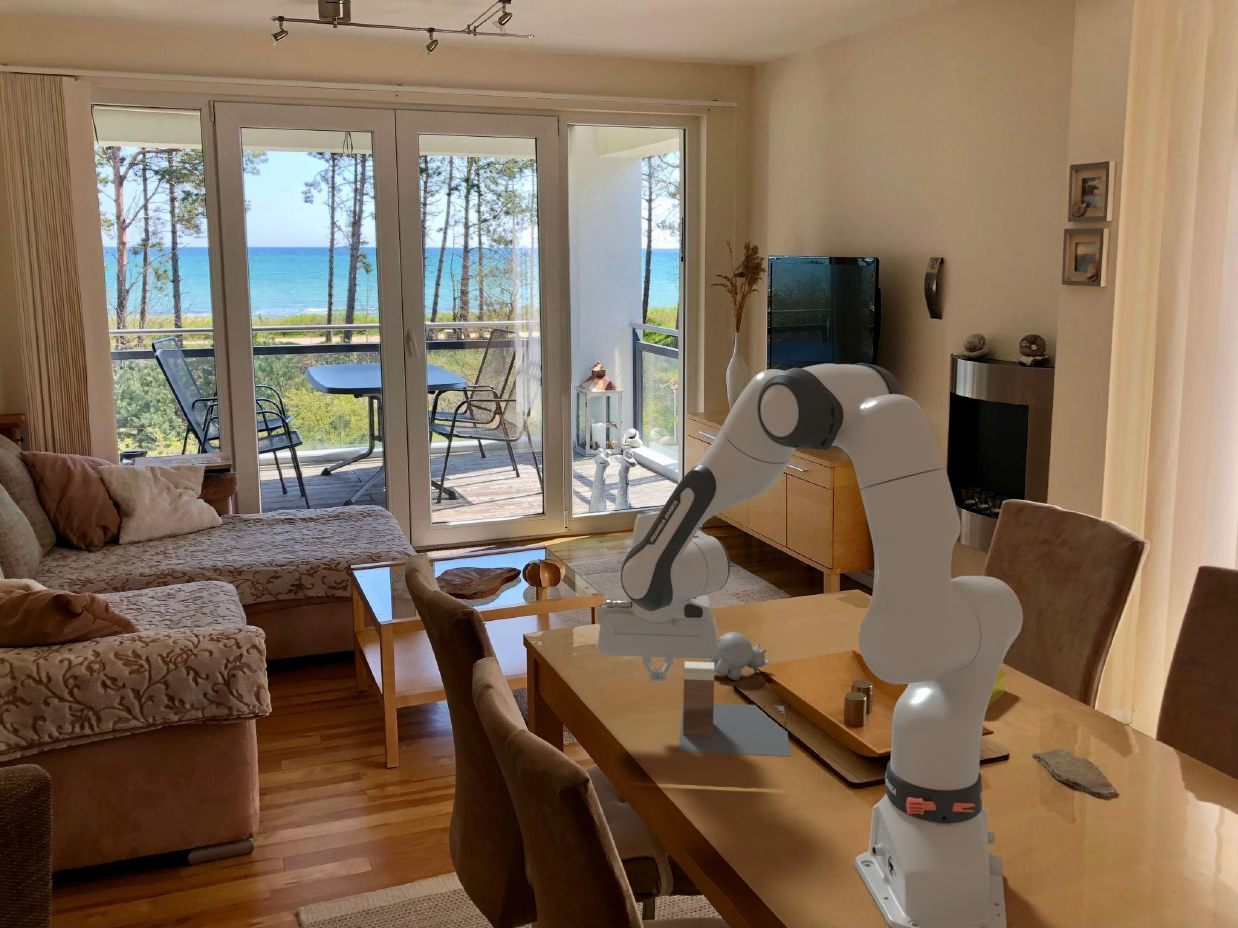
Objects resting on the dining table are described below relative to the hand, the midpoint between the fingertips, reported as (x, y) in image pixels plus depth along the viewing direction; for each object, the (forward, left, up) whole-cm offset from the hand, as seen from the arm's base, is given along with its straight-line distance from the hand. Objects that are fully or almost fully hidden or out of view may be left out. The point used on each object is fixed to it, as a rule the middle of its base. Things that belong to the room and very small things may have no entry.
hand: (657, 680), depth 186 cm
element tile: (+22, -54, -10) cm, 59 cm away
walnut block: (0, -7, -9) cm, 11 cm away
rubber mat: (+1, -13, -9) cm, 16 cm away
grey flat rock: (-10, -66, -10) cm, 67 cm away
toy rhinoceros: (+26, -14, -9) cm, 31 cm away
